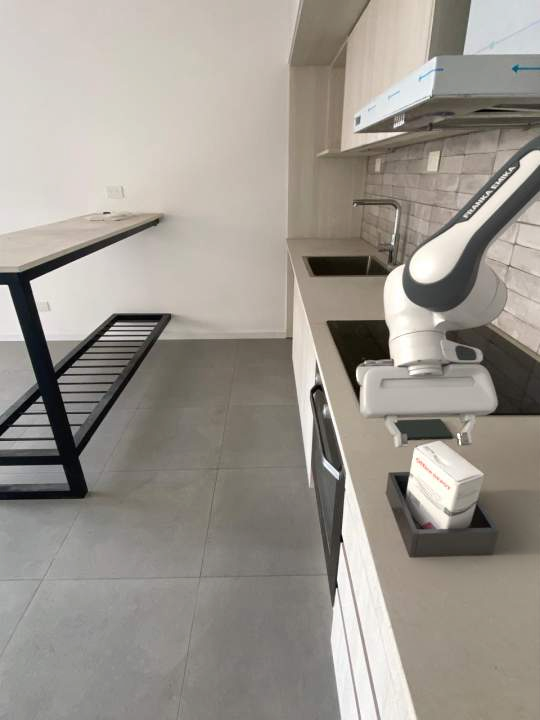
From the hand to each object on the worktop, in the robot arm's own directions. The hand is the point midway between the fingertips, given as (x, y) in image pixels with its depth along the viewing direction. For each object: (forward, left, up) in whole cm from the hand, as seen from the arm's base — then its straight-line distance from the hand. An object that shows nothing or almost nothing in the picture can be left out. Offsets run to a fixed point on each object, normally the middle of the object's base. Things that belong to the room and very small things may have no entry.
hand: (433, 446), depth 59 cm
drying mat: (-6, -19, -11) cm, 22 cm away
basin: (0, +4, -11) cm, 12 cm away
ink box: (0, +4, -11) cm, 12 cm away
